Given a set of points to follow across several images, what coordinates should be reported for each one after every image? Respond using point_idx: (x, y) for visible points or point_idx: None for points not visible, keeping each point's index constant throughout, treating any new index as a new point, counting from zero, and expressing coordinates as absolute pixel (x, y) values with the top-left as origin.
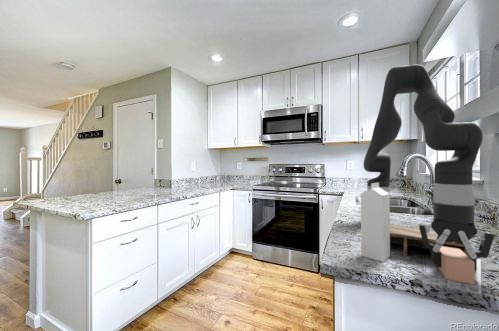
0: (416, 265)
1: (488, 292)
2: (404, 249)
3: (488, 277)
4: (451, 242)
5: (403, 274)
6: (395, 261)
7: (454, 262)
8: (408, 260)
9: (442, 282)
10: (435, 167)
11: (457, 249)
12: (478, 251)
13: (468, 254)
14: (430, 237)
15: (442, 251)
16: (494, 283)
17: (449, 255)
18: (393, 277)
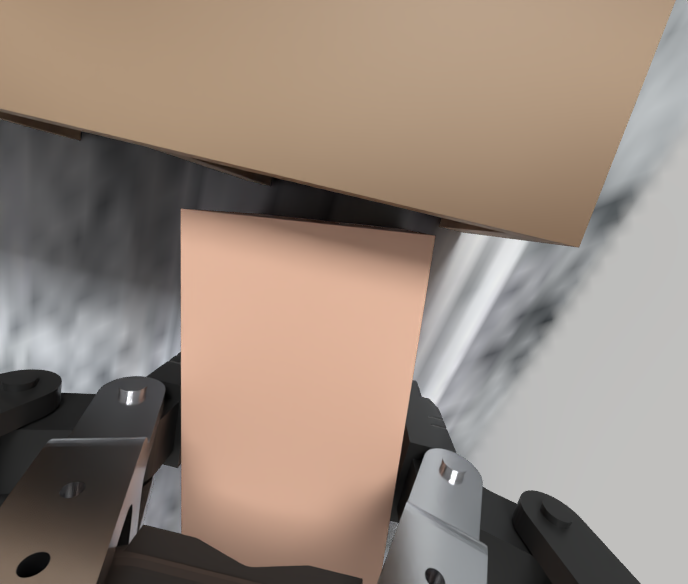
0: (127, 320)
1: (391, 539)
2: (5, 120)
3: (506, 353)
4: (367, 196)
5: None
6: (5, 300)
7: None
8: (85, 241)
9: None
10: None
11: (389, 306)
12: (503, 579)
13: (412, 487)
14: (102, 8)
15: (201, 439)
16: (487, 429)
17: (231, 530)
18: None
